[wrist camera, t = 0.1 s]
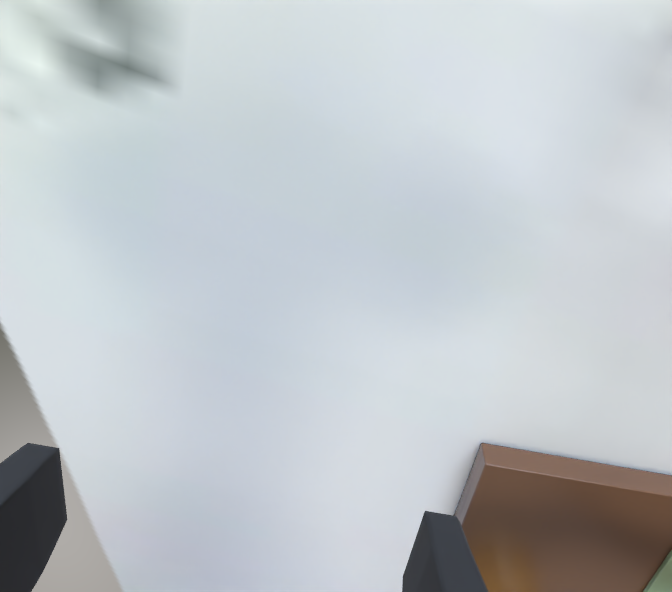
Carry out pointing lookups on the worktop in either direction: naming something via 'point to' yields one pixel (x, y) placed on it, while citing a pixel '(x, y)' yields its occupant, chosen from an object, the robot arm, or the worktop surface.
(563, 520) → the walnut board
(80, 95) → the worktop surface
